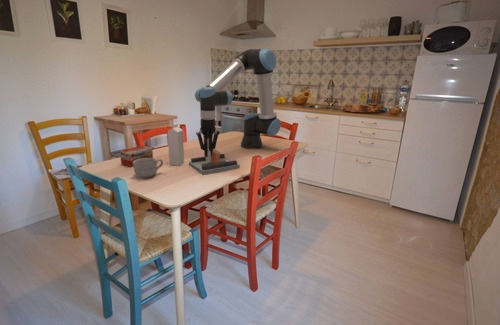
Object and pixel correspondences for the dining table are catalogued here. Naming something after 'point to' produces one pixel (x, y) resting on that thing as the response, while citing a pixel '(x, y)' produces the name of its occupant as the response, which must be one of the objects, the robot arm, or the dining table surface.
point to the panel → (198, 167)
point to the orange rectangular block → (215, 156)
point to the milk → (175, 146)
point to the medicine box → (135, 155)
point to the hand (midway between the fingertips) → (208, 161)
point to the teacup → (146, 167)
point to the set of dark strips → (216, 165)
